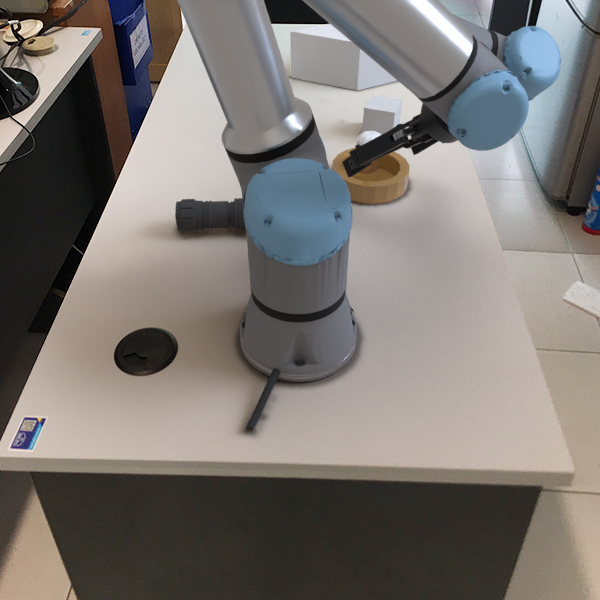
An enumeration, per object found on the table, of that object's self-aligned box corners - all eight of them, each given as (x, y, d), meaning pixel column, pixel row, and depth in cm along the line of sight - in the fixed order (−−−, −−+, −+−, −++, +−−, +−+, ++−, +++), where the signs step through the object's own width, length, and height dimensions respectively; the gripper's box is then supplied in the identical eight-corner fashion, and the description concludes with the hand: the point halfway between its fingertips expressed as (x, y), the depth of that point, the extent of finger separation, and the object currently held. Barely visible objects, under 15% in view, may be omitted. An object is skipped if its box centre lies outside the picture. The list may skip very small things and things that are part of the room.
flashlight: (176, 240, 98) (171, 211, 95) (179, 220, 102) (174, 191, 99) (274, 236, 99) (273, 208, 95) (273, 216, 103) (272, 188, 99)
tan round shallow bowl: (375, 213, 104) (377, 195, 101) (316, 183, 110) (316, 166, 108) (422, 182, 111) (424, 164, 108) (363, 155, 117) (365, 138, 115)
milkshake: (383, 190, 108) (389, 137, 101) (352, 186, 109) (356, 134, 102) (386, 176, 112) (391, 124, 105) (356, 173, 112) (360, 121, 106)
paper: (290, 64, 148) (289, 19, 142) (412, 63, 149) (418, 18, 142) (291, 91, 138) (290, 43, 131) (423, 89, 138) (429, 42, 131)
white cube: (391, 141, 121) (394, 112, 117) (361, 136, 123) (363, 107, 119) (399, 127, 125) (402, 99, 121) (370, 123, 127) (372, 94, 123)
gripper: (396, 158, 80) (326, 201, 100) (533, 111, 90) (445, 158, 109) (374, 103, 80) (309, 156, 99) (514, 62, 90) (430, 118, 109)
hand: (380, 158), depth 104 cm, fingers open, 13 cm apart
